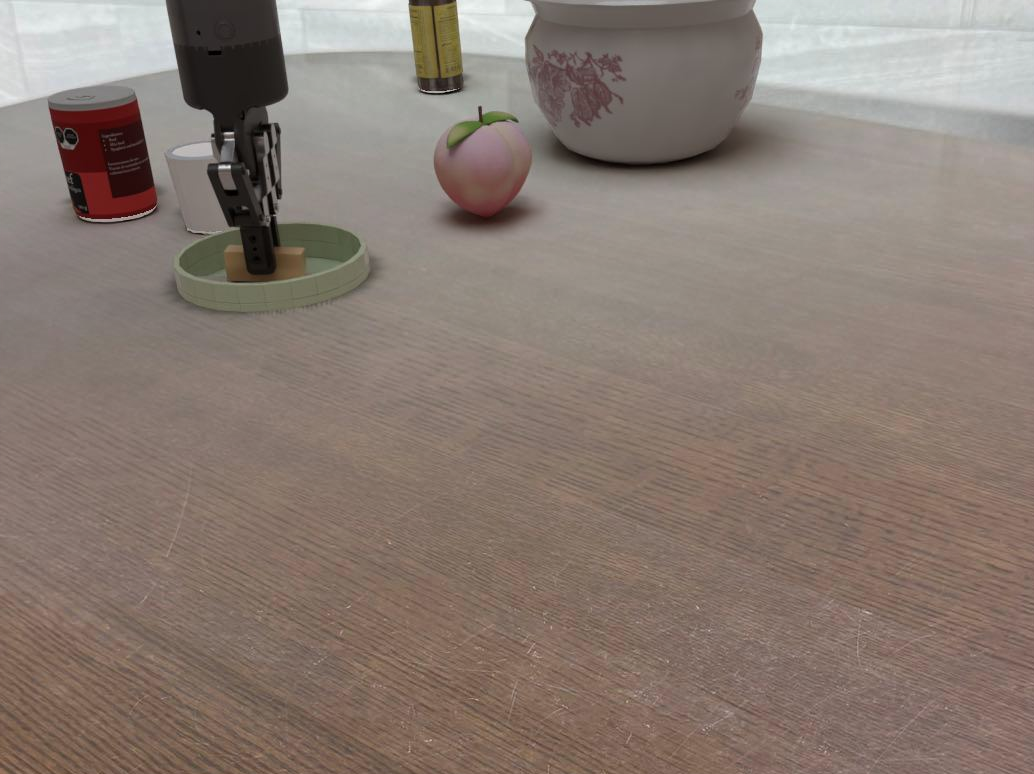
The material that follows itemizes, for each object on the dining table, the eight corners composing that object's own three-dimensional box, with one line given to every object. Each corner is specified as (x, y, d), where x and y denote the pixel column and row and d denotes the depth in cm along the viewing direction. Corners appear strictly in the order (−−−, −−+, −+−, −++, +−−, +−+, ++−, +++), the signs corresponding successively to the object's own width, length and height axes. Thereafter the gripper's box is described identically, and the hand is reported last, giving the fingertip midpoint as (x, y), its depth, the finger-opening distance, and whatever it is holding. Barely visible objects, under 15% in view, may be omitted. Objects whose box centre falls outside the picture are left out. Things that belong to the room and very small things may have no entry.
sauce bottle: (464, 83, 162) (454, -82, 151) (463, 94, 157) (452, -77, 146) (417, 85, 162) (403, -80, 151) (414, 96, 157) (399, -75, 146)
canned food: (83, 203, 120) (56, 87, 114) (165, 197, 121) (142, 83, 115) (66, 226, 113) (36, 106, 108) (152, 221, 114) (127, 100, 108)
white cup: (265, 226, 112) (253, 149, 108) (194, 241, 108) (179, 163, 105) (237, 209, 116) (224, 135, 113) (168, 223, 113) (153, 147, 110)
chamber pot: (744, 192, 115) (757, -47, 104) (478, 176, 123) (464, -47, 112) (789, 123, 138) (804, -80, 127) (561, 113, 146) (557, -78, 135)
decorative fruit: (473, 198, 117) (466, 91, 111) (546, 208, 113) (543, 98, 108) (418, 226, 110) (408, 113, 105) (494, 238, 106) (487, 121, 101)
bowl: (158, 331, 90) (148, 287, 88) (208, 264, 103) (200, 224, 101) (356, 327, 90) (351, 282, 88) (382, 259, 103) (378, 219, 101)
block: (226, 281, 94) (223, 251, 93) (231, 274, 95) (228, 244, 94) (303, 283, 94) (301, 254, 93) (307, 276, 95) (304, 247, 94)
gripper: (199, 17, 91) (239, 241, 100) (144, 52, 79) (195, 301, 89) (297, 14, 91) (328, 239, 100) (256, 47, 79) (295, 298, 88)
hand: (265, 267), depth 94 cm, fingers closed on block
